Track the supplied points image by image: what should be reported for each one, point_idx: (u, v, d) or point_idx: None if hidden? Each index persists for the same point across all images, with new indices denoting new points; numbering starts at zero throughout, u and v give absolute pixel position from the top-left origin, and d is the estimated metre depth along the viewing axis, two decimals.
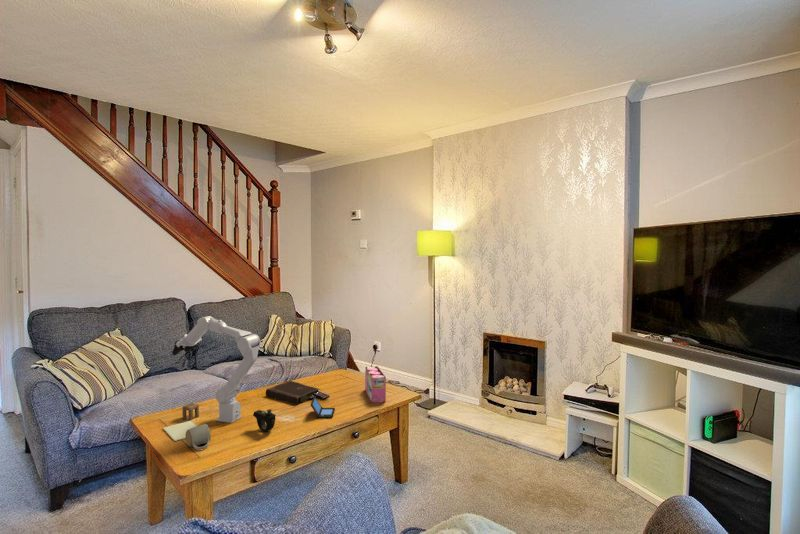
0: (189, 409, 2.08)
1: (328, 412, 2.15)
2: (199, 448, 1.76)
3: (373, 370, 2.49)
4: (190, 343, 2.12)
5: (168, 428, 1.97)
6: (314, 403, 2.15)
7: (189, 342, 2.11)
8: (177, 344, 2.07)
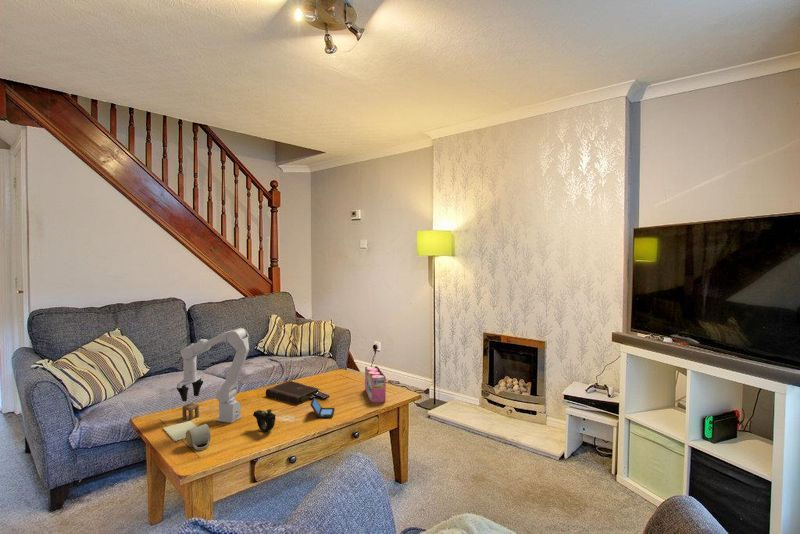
0: (189, 409, 2.08)
1: (328, 412, 2.15)
2: (199, 448, 1.76)
3: (373, 370, 2.49)
4: (190, 379, 2.08)
5: (168, 428, 1.97)
6: (314, 403, 2.15)
7: (188, 379, 2.08)
8: (178, 386, 2.04)
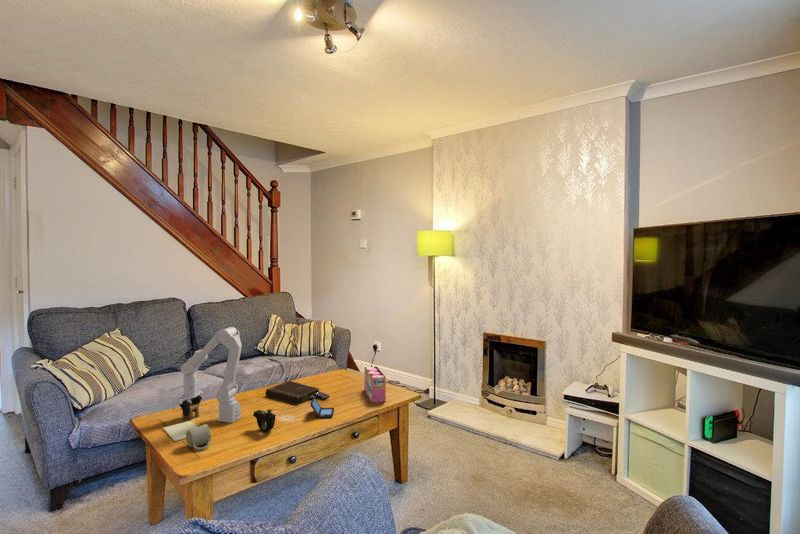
0: (189, 409, 2.08)
1: (328, 412, 2.15)
2: (199, 448, 1.76)
3: (372, 370, 2.49)
4: (190, 395, 2.08)
5: (168, 428, 1.97)
6: (314, 403, 2.15)
7: (189, 395, 2.08)
8: (178, 402, 2.04)
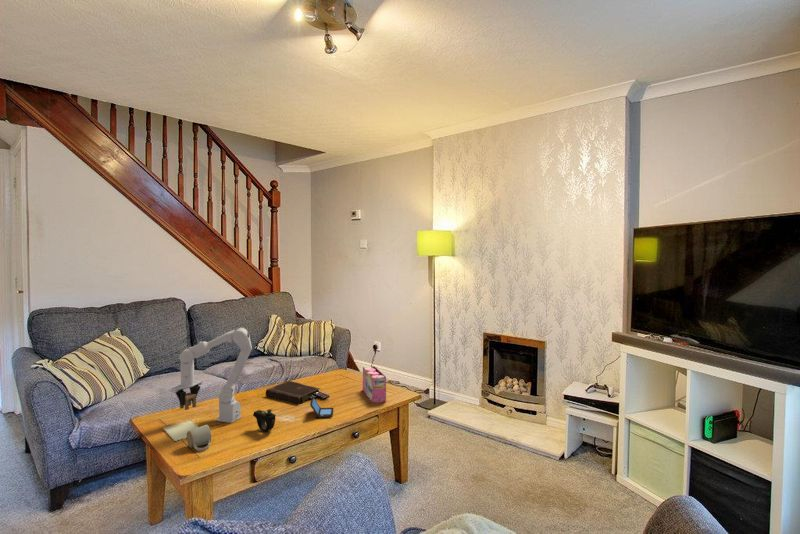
0: (185, 398, 2.02)
1: (327, 412, 2.16)
2: (200, 449, 1.76)
3: (371, 370, 2.49)
4: (186, 384, 2.02)
5: (168, 428, 1.97)
6: (313, 403, 2.15)
7: (185, 384, 2.02)
8: (173, 390, 1.98)
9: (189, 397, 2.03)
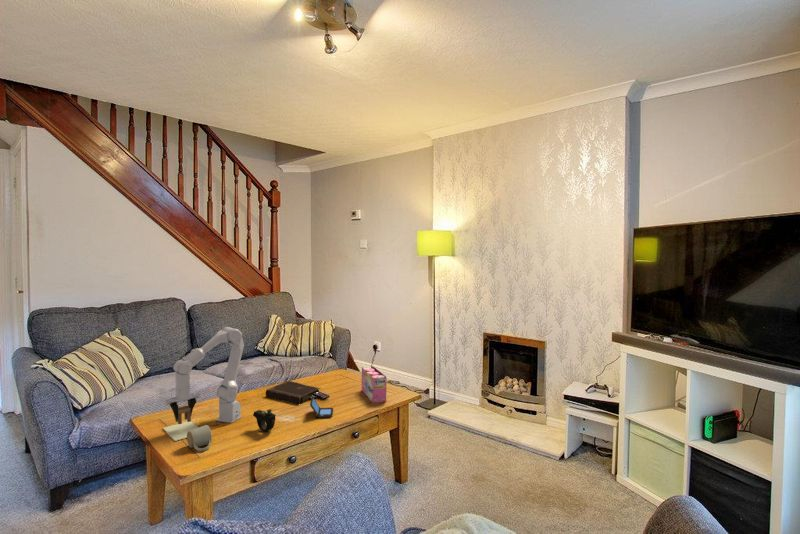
0: None
1: (327, 412, 2.16)
2: (200, 449, 1.75)
3: (370, 370, 2.49)
4: (179, 397, 1.92)
5: (168, 428, 1.97)
6: (313, 403, 2.15)
7: (178, 396, 1.92)
8: (165, 402, 1.90)
9: (182, 411, 1.92)
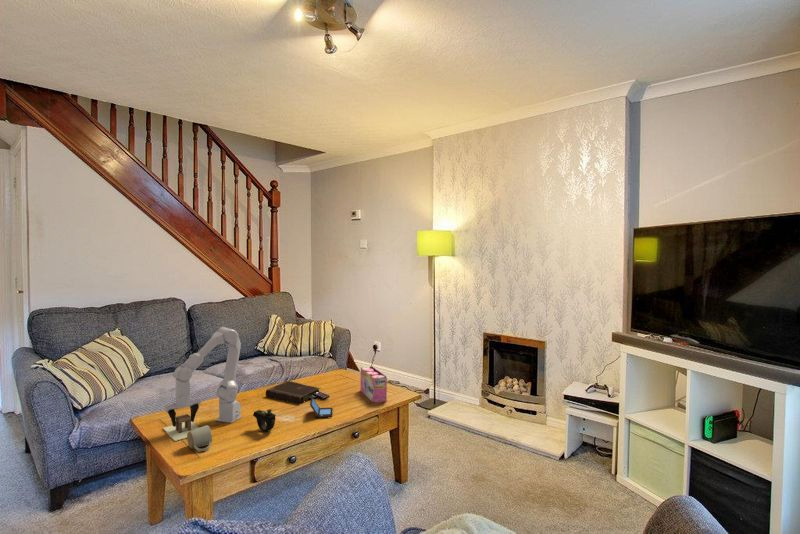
0: (178, 421, 1.92)
1: (327, 412, 2.16)
2: (201, 450, 1.75)
3: (370, 370, 2.49)
4: (179, 404, 1.92)
5: (168, 428, 1.97)
6: (313, 403, 2.15)
7: (178, 403, 1.92)
8: (165, 409, 1.90)
9: (182, 420, 1.92)
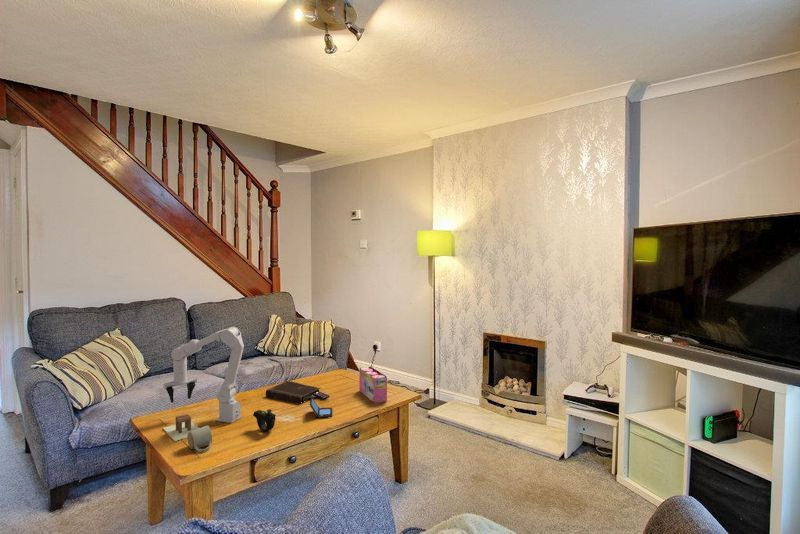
0: (178, 421, 1.92)
1: (327, 412, 2.16)
2: (201, 450, 1.75)
3: (369, 371, 2.48)
4: (177, 381, 2.05)
5: (168, 428, 1.97)
6: (312, 403, 2.15)
7: (176, 380, 2.05)
8: (163, 386, 2.03)
9: (182, 420, 1.92)
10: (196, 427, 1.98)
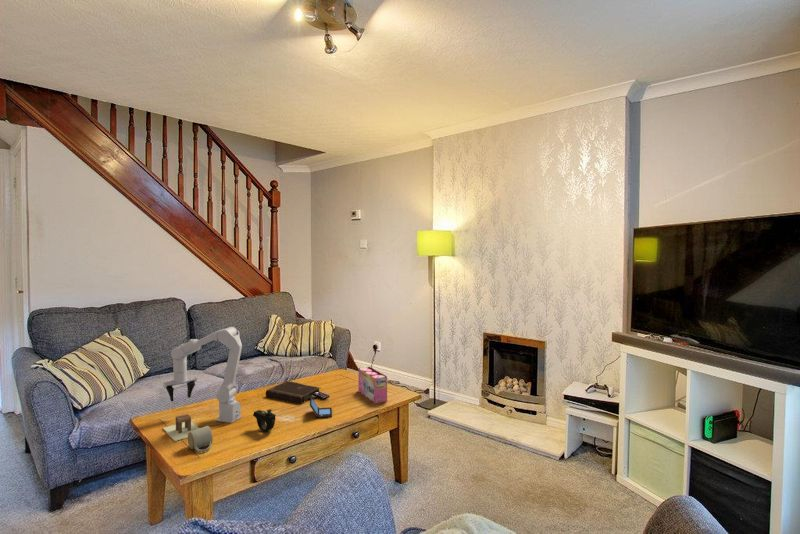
0: (178, 421, 1.92)
1: (327, 412, 2.16)
2: (201, 450, 1.74)
3: (368, 371, 2.48)
4: (177, 380, 2.07)
5: (168, 428, 1.97)
6: (312, 403, 2.15)
7: (175, 380, 2.07)
8: (163, 385, 2.05)
9: (182, 420, 1.92)
10: (196, 427, 1.98)
